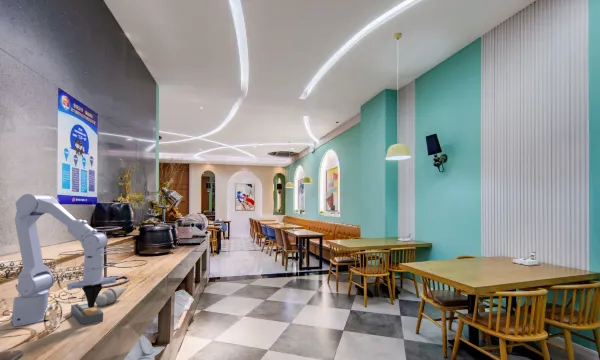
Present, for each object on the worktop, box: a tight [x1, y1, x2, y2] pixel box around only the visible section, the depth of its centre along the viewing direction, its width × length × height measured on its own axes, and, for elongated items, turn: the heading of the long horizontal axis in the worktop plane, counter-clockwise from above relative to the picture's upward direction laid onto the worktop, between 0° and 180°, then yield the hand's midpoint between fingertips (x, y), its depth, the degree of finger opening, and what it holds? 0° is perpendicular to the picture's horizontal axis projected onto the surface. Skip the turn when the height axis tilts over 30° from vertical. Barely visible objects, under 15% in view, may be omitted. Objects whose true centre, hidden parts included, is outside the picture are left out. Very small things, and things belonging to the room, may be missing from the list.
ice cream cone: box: [95, 286, 129, 307], centre depth 135 cm, size 6×6×15 cm
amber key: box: [83, 307, 98, 315], centre depth 114 cm, size 4×4×1 cm
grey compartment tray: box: [70, 303, 104, 327], centre depth 118 cm, size 6×16×3 cm, turn 45°
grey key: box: [80, 305, 94, 311], centre depth 118 cm, size 4×4×1 cm
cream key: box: [76, 300, 88, 308], centre depth 121 cm, size 4×4×1 cm
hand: (90, 306), depth 114 cm, fingers closed
